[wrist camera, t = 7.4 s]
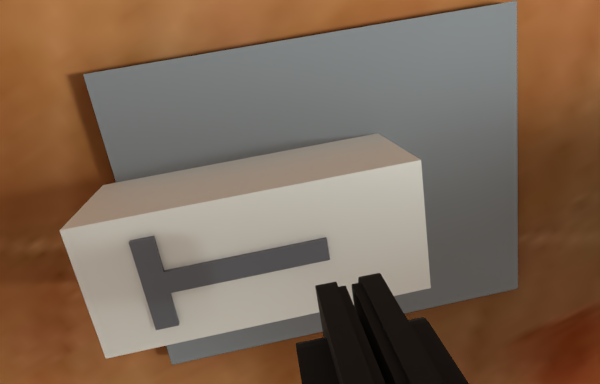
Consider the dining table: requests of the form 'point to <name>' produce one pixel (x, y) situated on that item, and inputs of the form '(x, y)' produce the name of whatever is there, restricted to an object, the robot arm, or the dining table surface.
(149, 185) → the letter block
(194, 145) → the mat
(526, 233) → the dining table surface
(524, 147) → the dining table surface
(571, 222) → the dining table surface
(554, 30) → the dining table surface
